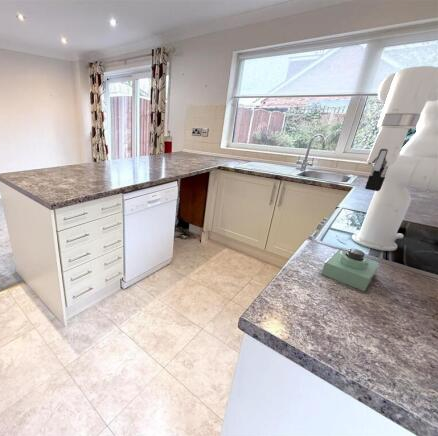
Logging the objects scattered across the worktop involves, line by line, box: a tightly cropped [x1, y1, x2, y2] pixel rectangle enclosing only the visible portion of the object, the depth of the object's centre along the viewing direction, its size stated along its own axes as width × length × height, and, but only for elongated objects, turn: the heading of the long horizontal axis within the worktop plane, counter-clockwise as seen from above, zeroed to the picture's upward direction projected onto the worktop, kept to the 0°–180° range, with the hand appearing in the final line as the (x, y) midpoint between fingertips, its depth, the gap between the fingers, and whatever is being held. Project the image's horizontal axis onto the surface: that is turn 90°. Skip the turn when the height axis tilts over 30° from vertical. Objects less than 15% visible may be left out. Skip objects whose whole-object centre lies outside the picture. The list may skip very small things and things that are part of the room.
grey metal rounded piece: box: [346, 248, 366, 261], centre depth 69 cm, size 4×4×2 cm
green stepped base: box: [320, 249, 380, 292], centre depth 70 cm, size 12×10×6 cm
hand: (372, 189), depth 71 cm, fingers closed
